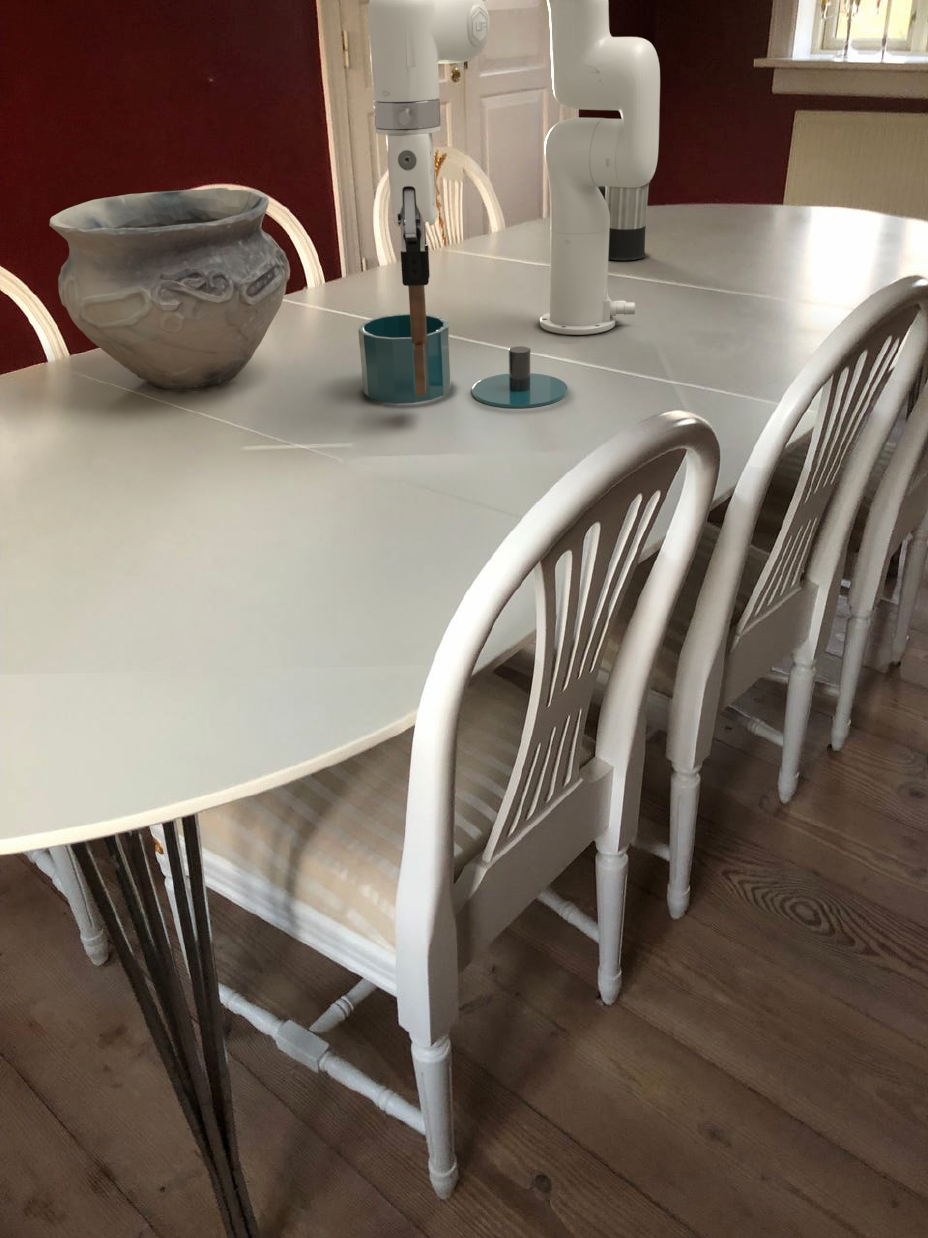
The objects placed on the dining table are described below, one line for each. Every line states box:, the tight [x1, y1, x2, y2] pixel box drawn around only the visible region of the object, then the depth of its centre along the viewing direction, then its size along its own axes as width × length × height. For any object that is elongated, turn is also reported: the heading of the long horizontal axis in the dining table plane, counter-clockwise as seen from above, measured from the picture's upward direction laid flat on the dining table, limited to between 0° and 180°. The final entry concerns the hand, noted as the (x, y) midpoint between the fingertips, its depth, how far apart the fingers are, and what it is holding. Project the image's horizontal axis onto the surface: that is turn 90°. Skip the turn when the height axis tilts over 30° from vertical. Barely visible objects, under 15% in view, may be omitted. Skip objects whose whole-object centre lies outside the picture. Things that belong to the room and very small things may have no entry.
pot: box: [358, 313, 452, 404], centre depth 146 cm, size 12×12×10 cm
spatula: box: [407, 285, 427, 396], centre depth 130 cm, size 2×6×18 cm, turn 0°
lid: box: [471, 345, 569, 409], centre depth 144 cm, size 13×13×7 cm
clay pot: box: [49, 187, 291, 392], centre depth 151 cm, size 33×32×25 cm
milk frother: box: [598, 180, 651, 262], centre depth 211 cm, size 14×16×15 cm
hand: (416, 280), depth 128 cm, fingers closed on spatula, 2 cm apart
